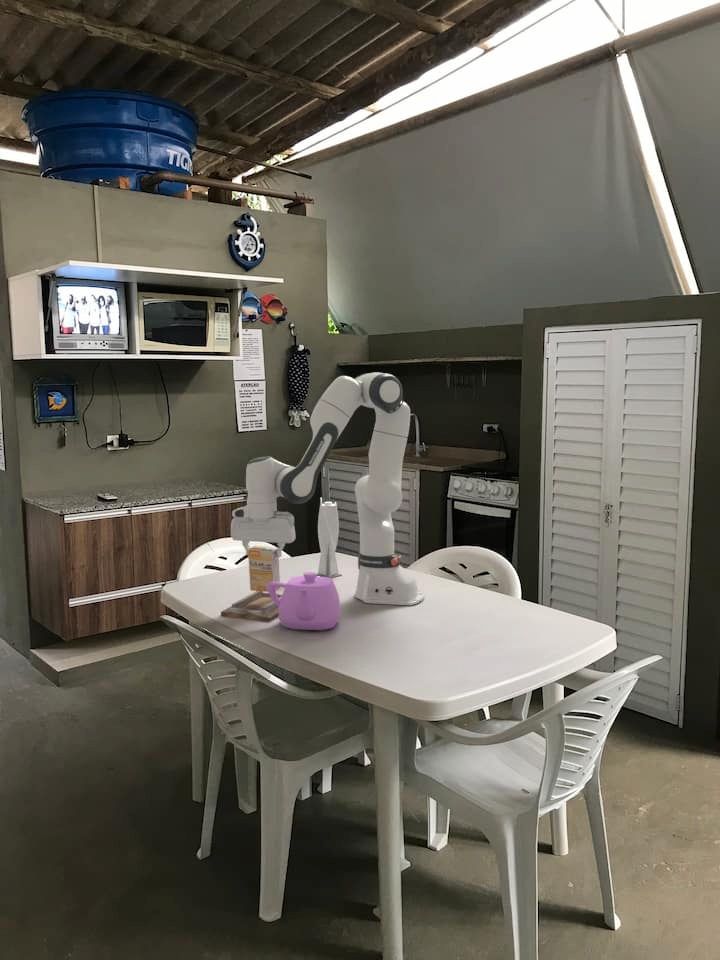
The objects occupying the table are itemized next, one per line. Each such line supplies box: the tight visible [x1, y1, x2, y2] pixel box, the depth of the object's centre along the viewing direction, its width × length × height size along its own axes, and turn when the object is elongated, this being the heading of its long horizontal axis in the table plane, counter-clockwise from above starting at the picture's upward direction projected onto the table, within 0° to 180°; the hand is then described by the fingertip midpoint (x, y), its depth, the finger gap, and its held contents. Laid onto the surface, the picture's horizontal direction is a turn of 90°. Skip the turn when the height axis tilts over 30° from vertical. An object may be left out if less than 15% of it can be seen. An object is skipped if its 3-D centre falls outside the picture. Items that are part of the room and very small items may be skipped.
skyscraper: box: [316, 497, 343, 579], centre depth 275 cm, size 8×8×28 cm
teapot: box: [267, 571, 342, 632], centre depth 215 cm, size 23×21×15 cm
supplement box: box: [247, 545, 281, 592], centre depth 233 cm, size 8×5×13 cm, turn 70°
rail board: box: [220, 591, 283, 623], centre depth 234 cm, size 16×22×3 cm
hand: (263, 555), depth 233 cm, fingers closed on supplement box, 8 cm apart
